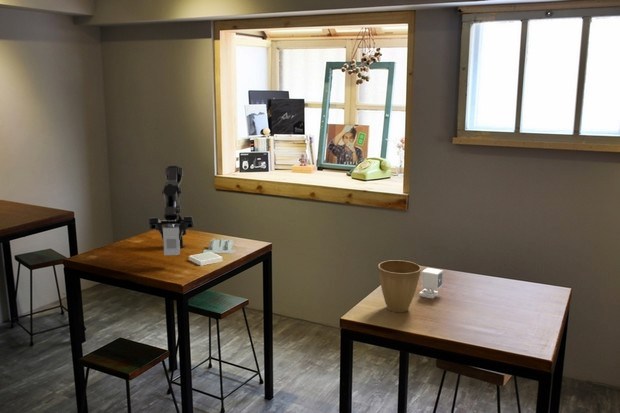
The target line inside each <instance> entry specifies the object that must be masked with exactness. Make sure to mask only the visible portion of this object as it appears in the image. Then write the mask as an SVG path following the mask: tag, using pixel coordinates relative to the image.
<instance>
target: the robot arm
mask: <svg viewBox="0 0 620 413" xmlns="http://www.w3.org/2000/svg"><path fill="white" fill-rule="evenodd" d="M164 177H165V178H166V181H165V183H164V187H162V191H161V192H162V196H163V198H164V202H165V203H164V212H163V214H164V215H163V218H164V220H162V219H160V218H159V217H157V216H156V217H150V218H149V219H148V224H149V229H150V230H155V231H157V232H159V235H160V236H161V239H162V240H163V226H164V225H167V224H171V223H173V224H175V225H179V240H180V249H181V248H185V247H186V245H184V244H183V243H184V239H183V236H187V230H188V229H193V228H194V217H193V216H192V215H190V216H189V215H186V216H183V218H182V217H181V213H182V207H181V204H180V195H181V194H182V190H183V189H182V188H181V186H180V185H181V183H182V182H183V177H184V169H183V168H182V167H180V166H179V165H177V164H176V165H168V166H166V168H164Z"/></svg>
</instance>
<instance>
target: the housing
mask: <svg viewBox="0 0 620 413" xmlns="http://www.w3.org/2000/svg"><path fill="white" fill-rule="evenodd" d="M162 228H163V239H162V241H163V255H164V256H179V255H181V248H180V240H179V225H175V224H173V223H171V224H167V225H162Z"/></svg>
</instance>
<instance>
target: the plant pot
mask: <svg viewBox="0 0 620 413" xmlns="http://www.w3.org/2000/svg"><path fill="white" fill-rule="evenodd" d="M377 268H378V275H379V282H380V288H381V292H382V297H383V299H384V302H385V305H386V308H387V310H389V311H390V312H393V313H405V312H407V311H409V308H410V307H411V304H412V301H413V299H414V297H415V294H416V290H417V286H418V284H419V283H418V282H419V280H420V277H421V276H420V275H421V272H422V271H421V270H422V267H421V266H420V265H419V264H417V263H415V262H412V261H407V260H398V259H396V260H395V259H393V260H385V261H382V262H380V263H378V267H377Z"/></svg>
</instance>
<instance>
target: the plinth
mask: <svg viewBox="0 0 620 413" xmlns="http://www.w3.org/2000/svg"><path fill="white" fill-rule="evenodd" d="M188 260H189V261H190V262H192V263H194V264H196V265H198V266H201V267H202V266H205V265H211V264H215V263H221V262H223V261H224V256H221V255H219V254H218V253H212V252H206V253H203V252H201V253H198V254H192V255H189V256H188Z"/></svg>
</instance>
